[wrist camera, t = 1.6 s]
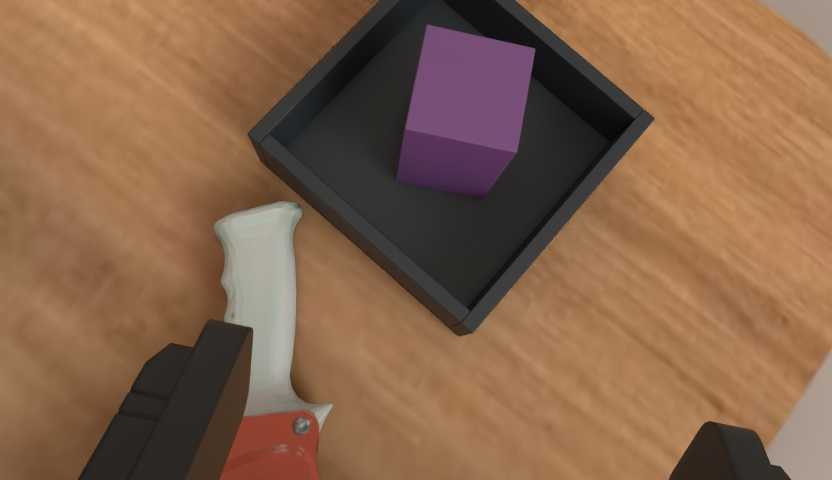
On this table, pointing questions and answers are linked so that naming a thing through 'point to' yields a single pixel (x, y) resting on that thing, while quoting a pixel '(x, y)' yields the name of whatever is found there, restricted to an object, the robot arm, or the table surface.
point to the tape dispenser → (268, 346)
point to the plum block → (464, 112)
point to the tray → (432, 209)
